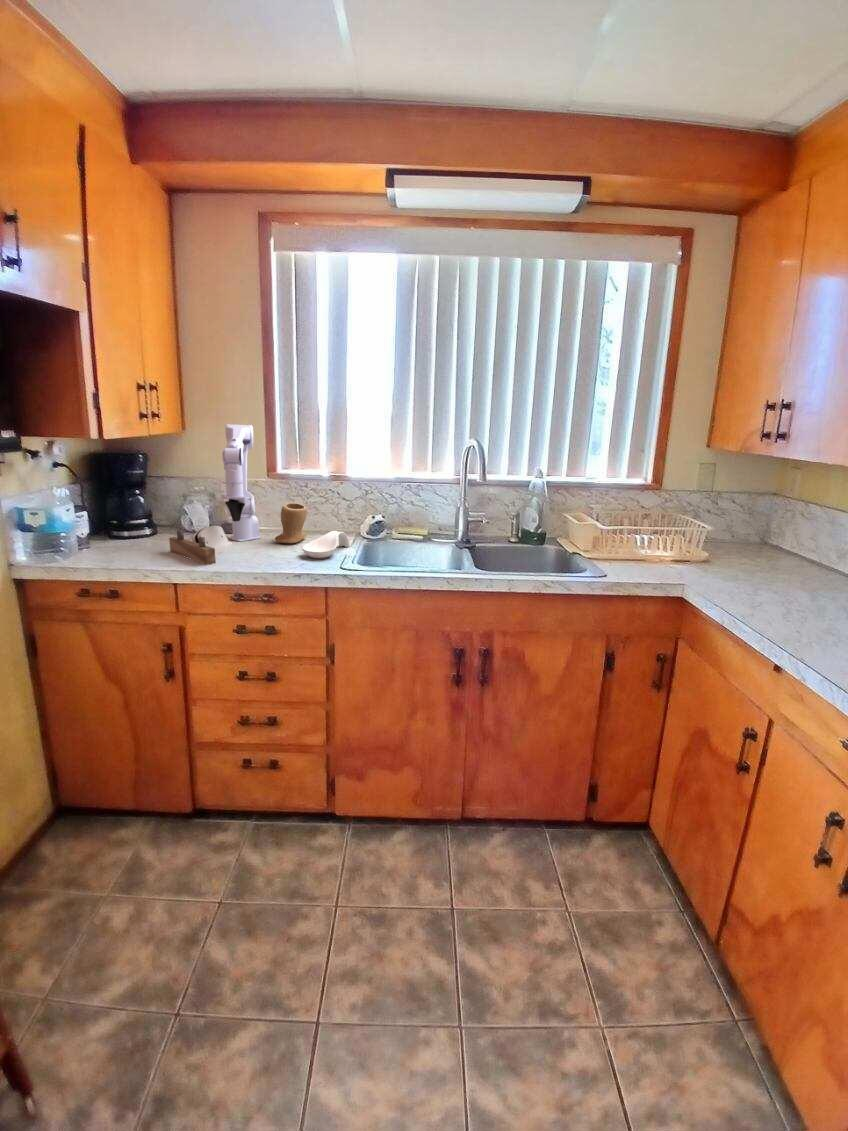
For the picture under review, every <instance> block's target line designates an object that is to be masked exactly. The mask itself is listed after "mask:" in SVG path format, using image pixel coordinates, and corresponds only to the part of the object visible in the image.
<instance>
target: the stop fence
mask: <svg viewBox="0 0 848 1131" xmlns="http://www.w3.org/2000/svg"><path fill="white" fill-rule="evenodd" d="M168 539H169V540H168V542H169V551H170V553H172V552H173V554H175V553H176V555H178V554H179V555H178V556H181V555H182V556H181V557H183V556H185V558H186V557H188V558H187V559H189V558H191V559H190V560H192V559H194V560H193V561H195V560H196V561H195V562H198V561H199V562H198V563H200V562H202V563H201V564H203V563H204V565H206V564H209V565H214V564H217V562H216V555H215V548H212V547H209V546H205V537H199V538H198V539H199V543H196V542H193V541H192V540H190V539H186V538H184V531H183V530H176V536H173V537H169V538H168ZM213 563H214V564H213Z"/></svg>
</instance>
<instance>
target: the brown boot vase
mask: <svg viewBox="0 0 848 1131" xmlns="http://www.w3.org/2000/svg"><path fill="white" fill-rule="evenodd" d="M307 511H308V508H307V507H306V505H304V504H302V503H298V502H286V503H284V504H283V505H282V507H281V511H280V522H281V527H282V532H281V533H280V534H278V535H277V536H276V537H274V541H275V542H277V543H283V544H295V543H298V542H301V541H302V540H304V538H306V537H307V536H308V534H307V532H304V531H303V527H304V525H305V522H306V519H307V515H308V514H307V513H308V512H307Z"/></svg>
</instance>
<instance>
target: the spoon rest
mask: <svg viewBox="0 0 848 1131" xmlns="http://www.w3.org/2000/svg"><path fill="white" fill-rule="evenodd" d="M337 546H339V547H342V546H345V548H350V547H351V544H350V539H349V537H348V535H347V534H346V533H345V532H343V531H337V530H332V531H329V532H327V533H325V534H324V535H322V536H320V537H319V538H316V539H314V540H311V541H310V542H307V543H306V544H304V545H303V546H302V547H301V548H302V551H303V552H304V554H306V556H308V557H310V558H313V559H326V557H327V558H329V557H330V556H331V555H333V554H334V552H335V551H336V549H337Z"/></svg>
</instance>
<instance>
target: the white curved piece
mask: <svg viewBox="0 0 848 1131" xmlns="http://www.w3.org/2000/svg"><path fill="white" fill-rule="evenodd" d="M199 537H205V546H209V547H212V548H215V556H217V555H219V554H221V553H220V552H222V551H224V552H226V551H227V549H228V550H230V549H232V548H234V545H233V543H232V541H229V538H228V537H227V535H226V533H225V531H224V529H223V528H222V527H221V526H219V525H211V526H206V527H203V528H201V529H199V530H198V531H195V532H194V534H193V535H192V536H191V541H193V542H196V543H199V539H198V538H199ZM229 548H230V549H229ZM225 550H226V551H225ZM218 553H219V554H218ZM222 553H223V552H222ZM216 554H217V555H216Z"/></svg>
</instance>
